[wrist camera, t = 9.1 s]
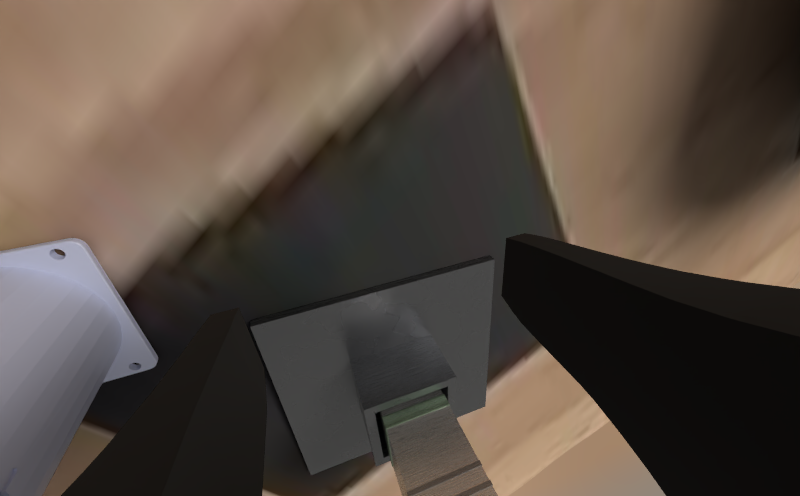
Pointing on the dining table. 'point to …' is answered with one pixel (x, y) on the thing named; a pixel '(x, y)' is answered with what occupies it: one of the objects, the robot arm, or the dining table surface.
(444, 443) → the column
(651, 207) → the dining table surface
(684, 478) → the robot arm
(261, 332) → the stand
